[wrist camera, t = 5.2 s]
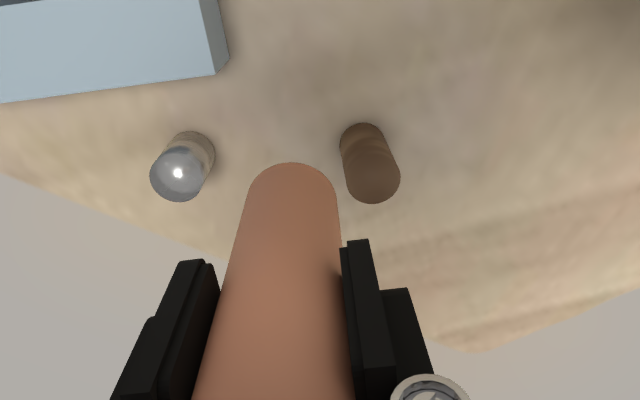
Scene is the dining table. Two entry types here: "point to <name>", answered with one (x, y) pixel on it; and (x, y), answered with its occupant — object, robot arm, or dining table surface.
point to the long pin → (281, 297)
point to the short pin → (183, 167)
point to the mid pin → (368, 164)
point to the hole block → (105, 44)
